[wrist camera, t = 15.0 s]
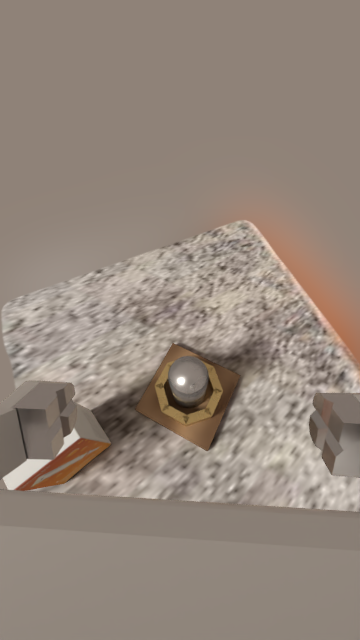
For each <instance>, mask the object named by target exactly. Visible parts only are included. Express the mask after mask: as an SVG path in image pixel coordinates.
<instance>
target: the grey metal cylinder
mask: <svg viewBox="0 0 360 640" xmlns="http://www.w3.org/2000/svg"><path fill="white" fill-rule="evenodd" d="M208 378H209V374H208V370H207V367H206V366H205V364H204V363H203V362H202V361H201V360H199V359H198V358H196V357H193V356H183V357H180V358H179V359H177V360H176V361H175V362H174V363H173V364H172V365H171V367H170V369H169V372H168V380H169V384H170V387H171V391H172V394H173V397H174V400H175V401H176V403H177V404H178V405H180V406H181V407H183V408H187V409H191V408H195V407H197V406H199V405H200V404H201V403H202V401H203V400H204V397H205V393H206V388H207V384H208Z"/></svg>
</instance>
